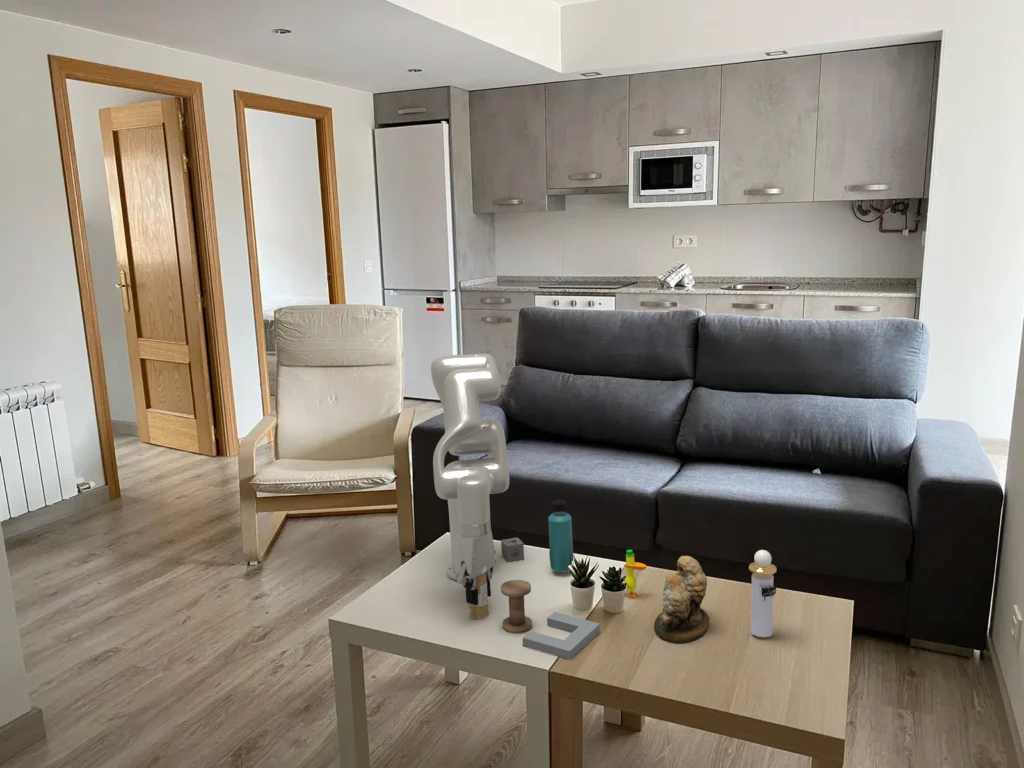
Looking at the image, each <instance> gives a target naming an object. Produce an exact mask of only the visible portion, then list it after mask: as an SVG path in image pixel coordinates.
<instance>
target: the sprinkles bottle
mask: <svg viewBox="0 0 1024 768" xmlns="http://www.w3.org/2000/svg"><path fill="white" fill-rule="evenodd" d="M486 571H487V569H486V566H485V567H484V568H483V570H482V574H481V575H479V576H477V579H476V589H478V605H473V604H469V606H470V607H469V610H470V613H469V615H470V617H471V618H472V619H474V620H483V619H486V618H487V617H488V616H489V611H488V610H489V605H488V602H489V597H488V595H487V579H486ZM469 582H470V583H472V579H469Z"/></svg>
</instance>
